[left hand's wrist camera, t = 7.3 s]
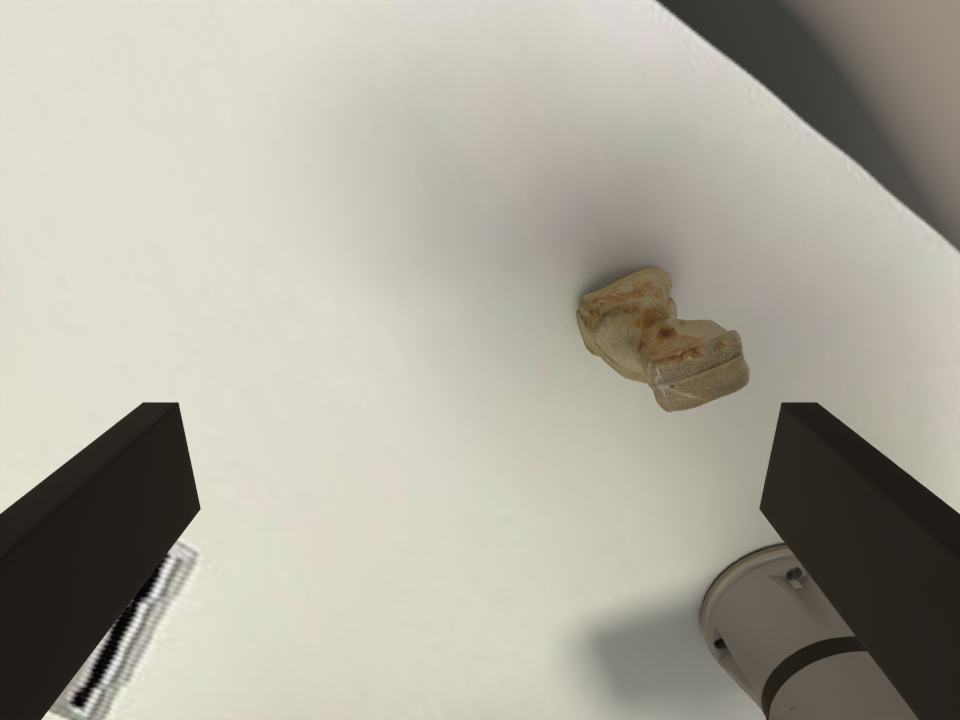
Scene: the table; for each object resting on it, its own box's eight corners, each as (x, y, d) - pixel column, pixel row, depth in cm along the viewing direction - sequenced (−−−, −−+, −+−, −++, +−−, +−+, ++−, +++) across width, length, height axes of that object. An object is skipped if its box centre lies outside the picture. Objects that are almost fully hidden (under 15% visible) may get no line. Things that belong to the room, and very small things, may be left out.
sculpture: (674, 325, 44) (766, 412, 30) (582, 351, 44) (629, 449, 30) (659, 252, 42) (751, 309, 28) (564, 281, 42) (605, 351, 28)
